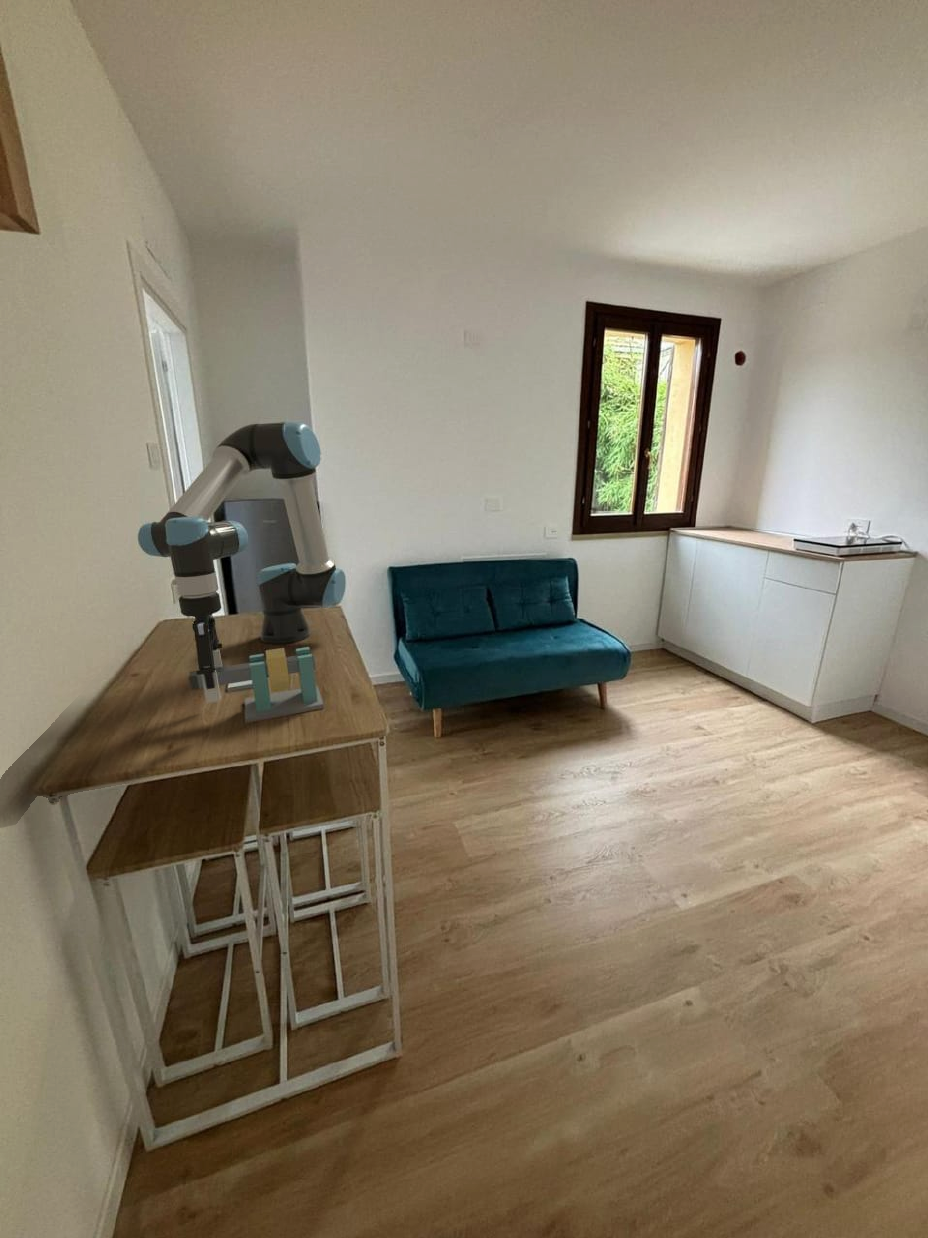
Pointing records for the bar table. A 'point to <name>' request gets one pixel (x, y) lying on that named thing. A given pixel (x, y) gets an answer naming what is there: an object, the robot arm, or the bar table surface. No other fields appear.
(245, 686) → the hard drive
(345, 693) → the bar table surface
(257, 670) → the block
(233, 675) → the shaft
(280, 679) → the block
